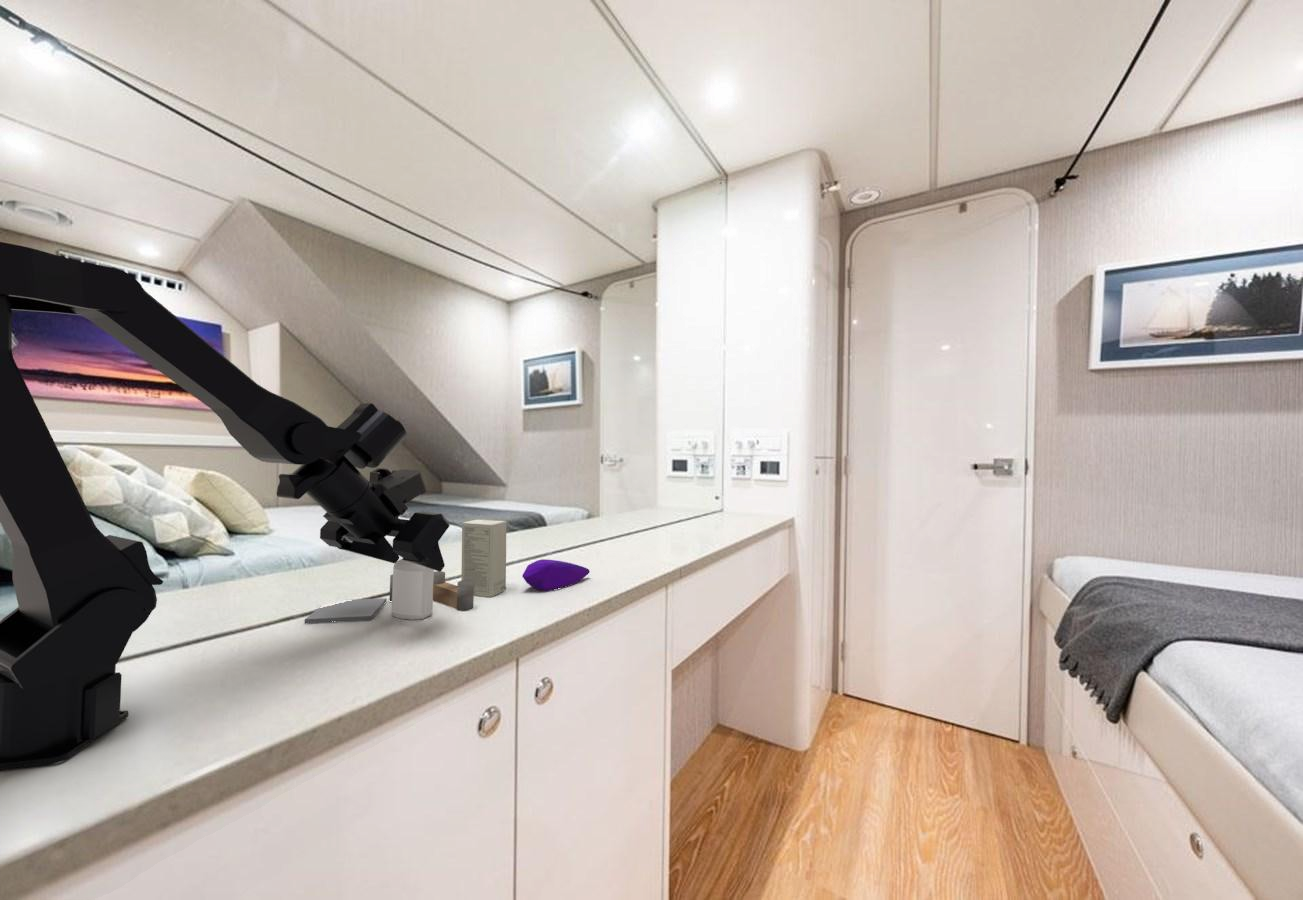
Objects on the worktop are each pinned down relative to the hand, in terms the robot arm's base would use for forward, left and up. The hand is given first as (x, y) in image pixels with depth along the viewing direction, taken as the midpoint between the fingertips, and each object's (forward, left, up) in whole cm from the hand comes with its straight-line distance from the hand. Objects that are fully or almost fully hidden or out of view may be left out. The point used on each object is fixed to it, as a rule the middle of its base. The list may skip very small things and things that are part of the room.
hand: (418, 564), depth 69 cm
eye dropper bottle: (0, -1, -7) cm, 7 cm away
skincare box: (+9, +9, -7) cm, 15 cm away
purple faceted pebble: (+21, +12, -8) cm, 25 cm away
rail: (+1, +4, -7) cm, 9 cm away
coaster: (-9, +2, -7) cm, 12 cm away
